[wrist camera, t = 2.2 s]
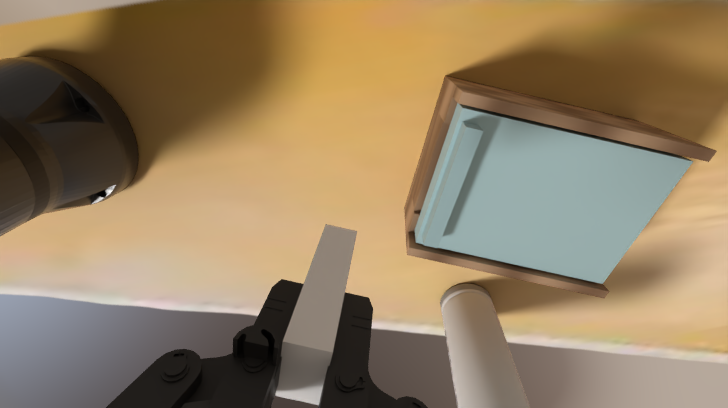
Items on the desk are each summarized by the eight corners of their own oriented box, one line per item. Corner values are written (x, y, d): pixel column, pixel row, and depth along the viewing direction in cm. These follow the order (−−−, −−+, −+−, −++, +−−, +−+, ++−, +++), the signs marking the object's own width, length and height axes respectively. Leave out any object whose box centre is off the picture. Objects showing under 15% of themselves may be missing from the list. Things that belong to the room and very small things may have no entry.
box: (404, 208, 36) (406, 254, 29) (445, 75, 29) (462, 91, 22) (561, 243, 37) (604, 298, 29) (636, 120, 30) (716, 151, 22)
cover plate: (414, 230, 30) (416, 253, 27) (457, 102, 25) (466, 112, 22) (590, 269, 31) (612, 296, 28) (672, 152, 25) (710, 169, 22)
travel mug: (503, 294, 41) (585, 495, 23) (470, 325, 44) (521, 525, 26) (461, 272, 40) (514, 467, 22) (430, 306, 43) (455, 501, 25)
